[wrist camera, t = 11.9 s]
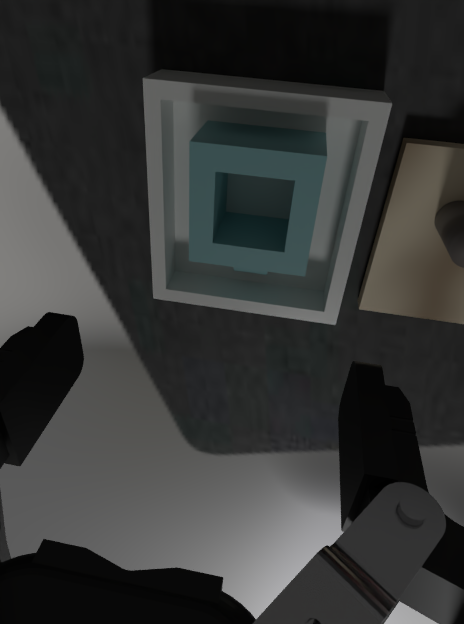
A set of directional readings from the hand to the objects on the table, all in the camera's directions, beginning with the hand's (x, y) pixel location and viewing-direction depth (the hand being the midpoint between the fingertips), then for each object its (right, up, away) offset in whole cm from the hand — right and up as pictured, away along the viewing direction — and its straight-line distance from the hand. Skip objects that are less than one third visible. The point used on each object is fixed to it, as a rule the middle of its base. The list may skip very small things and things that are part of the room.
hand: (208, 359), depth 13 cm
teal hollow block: (+2, +8, +11) cm, 14 cm away
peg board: (+14, +5, +12) cm, 19 cm away
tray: (+2, +8, +13) cm, 15 cm away
